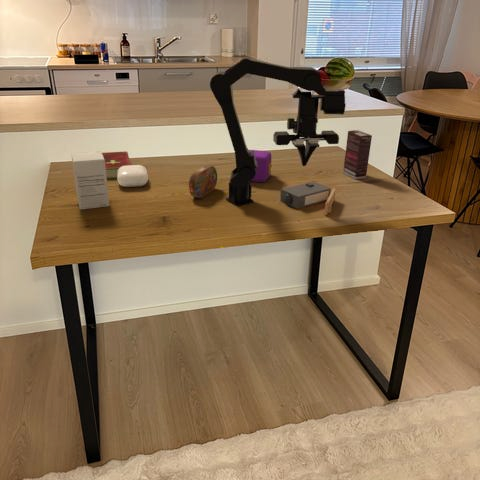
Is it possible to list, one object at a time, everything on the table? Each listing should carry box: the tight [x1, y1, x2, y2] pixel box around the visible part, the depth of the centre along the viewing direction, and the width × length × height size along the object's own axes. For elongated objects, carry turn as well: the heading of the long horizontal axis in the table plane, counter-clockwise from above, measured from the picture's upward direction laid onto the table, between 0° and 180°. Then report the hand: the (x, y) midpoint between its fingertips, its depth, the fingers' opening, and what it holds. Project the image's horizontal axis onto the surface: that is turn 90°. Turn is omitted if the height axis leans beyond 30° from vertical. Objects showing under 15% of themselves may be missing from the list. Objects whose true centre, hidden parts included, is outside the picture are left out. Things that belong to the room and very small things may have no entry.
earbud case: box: [116, 164, 149, 188], centre depth 164 cm, size 10×13×5 cm
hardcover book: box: [101, 150, 131, 179], centre depth 178 cm, size 12×21×4 cm, turn 15°
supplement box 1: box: [71, 151, 110, 210], centre depth 144 cm, size 9×9×15 cm
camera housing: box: [279, 181, 332, 210], centre depth 152 cm, size 15×8×4 cm, turn 126°
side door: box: [323, 188, 336, 216], centre depth 147 cm, size 14×2×4 cm, turn 161°
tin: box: [188, 165, 218, 199], centre depth 155 cm, size 15×3×8 cm, turn 155°
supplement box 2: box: [342, 129, 373, 180], centre depth 174 cm, size 9×5×16 cm, turn 22°
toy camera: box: [248, 149, 273, 183], centre depth 171 cm, size 11×14×10 cm
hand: (303, 165), depth 145 cm, fingers closed
